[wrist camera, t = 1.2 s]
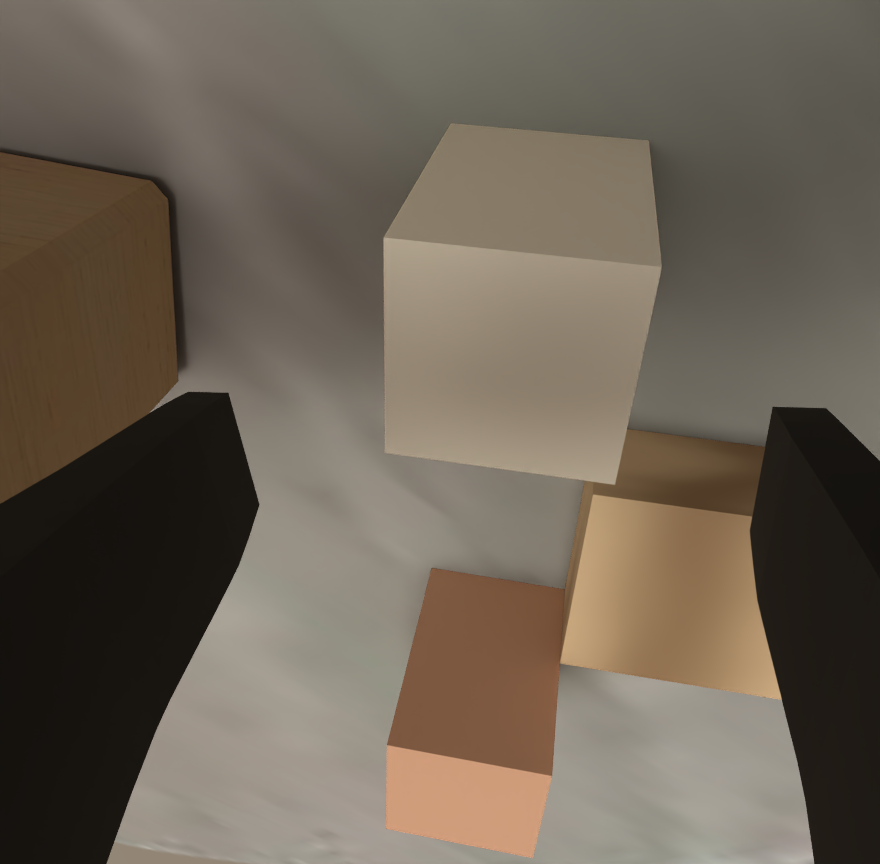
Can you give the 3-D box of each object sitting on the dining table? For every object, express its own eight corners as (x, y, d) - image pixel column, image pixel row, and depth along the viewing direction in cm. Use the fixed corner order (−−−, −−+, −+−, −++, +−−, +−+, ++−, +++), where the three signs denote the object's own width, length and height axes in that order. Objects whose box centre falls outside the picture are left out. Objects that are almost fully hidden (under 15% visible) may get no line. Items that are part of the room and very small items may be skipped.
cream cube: (648, 140, 16) (662, 267, 11) (615, 317, 18) (614, 484, 14) (450, 122, 17) (383, 237, 12) (443, 298, 19) (385, 453, 14)
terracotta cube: (564, 589, 24) (552, 776, 19) (547, 672, 26) (532, 857, 21) (431, 567, 24) (386, 744, 20) (427, 652, 27) (385, 828, 22)
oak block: (841, 449, 20) (873, 533, 17) (773, 613, 23) (791, 701, 21) (595, 418, 20) (592, 494, 18) (565, 581, 24) (559, 663, 22)
